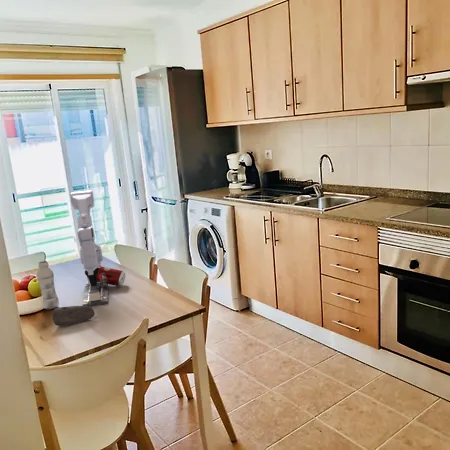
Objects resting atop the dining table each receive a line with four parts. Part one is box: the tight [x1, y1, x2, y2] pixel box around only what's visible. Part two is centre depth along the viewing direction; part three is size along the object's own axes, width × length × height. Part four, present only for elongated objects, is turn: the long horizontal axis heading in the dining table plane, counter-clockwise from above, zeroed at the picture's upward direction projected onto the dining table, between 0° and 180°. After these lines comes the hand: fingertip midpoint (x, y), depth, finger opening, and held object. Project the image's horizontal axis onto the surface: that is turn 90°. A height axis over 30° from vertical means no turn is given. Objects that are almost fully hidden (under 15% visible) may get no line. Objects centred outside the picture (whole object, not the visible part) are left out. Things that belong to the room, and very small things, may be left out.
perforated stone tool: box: [51, 305, 96, 327], centre depth 166 cm, size 15×5×7 cm, turn 105°
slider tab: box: [89, 290, 100, 301], centre depth 183 cm, size 3×4×4 cm
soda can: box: [97, 265, 126, 287], centre depth 201 cm, size 7×7×12 cm
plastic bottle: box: [36, 260, 60, 310], centre depth 181 cm, size 6×7×20 cm
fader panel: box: [81, 283, 109, 308], centre depth 192 cm, size 23×10×2 cm, turn 14°
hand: (94, 285), depth 188 cm, fingers closed
